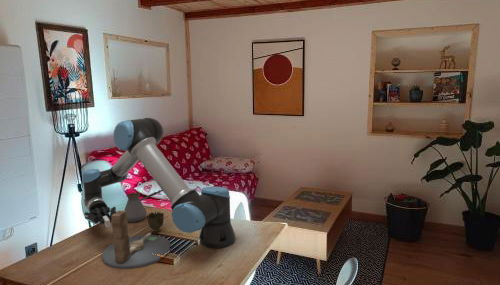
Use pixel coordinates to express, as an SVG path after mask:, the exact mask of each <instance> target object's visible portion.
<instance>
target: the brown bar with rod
mask: <svg viewBox="0 0 500 285" xmlns="http://www.w3.org/2000/svg"><path fill="white" fill-rule="evenodd" d="M111 218H112V220H111V227H112V237H113V243H114V251H115V261H116V262H117V263H124V262H125V261H126V260H127V259H128V258H129V257H130V254H132V253H133V252H134V251H137V250H141V249H143V248H144V244H143V241H144V240H145V239H146V238H147V237H149V236H150V235H152V232H148V233H147V234H145V235H146V236H144V237H143V238H142V239H141V240H137V241H133V242H131V243H130V246H129V237H130V236H129V226H128V225H129V224H128V223H129V222H128V221H127V211H124V210H118V211H116V213H114V214H113V215H111Z"/></svg>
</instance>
